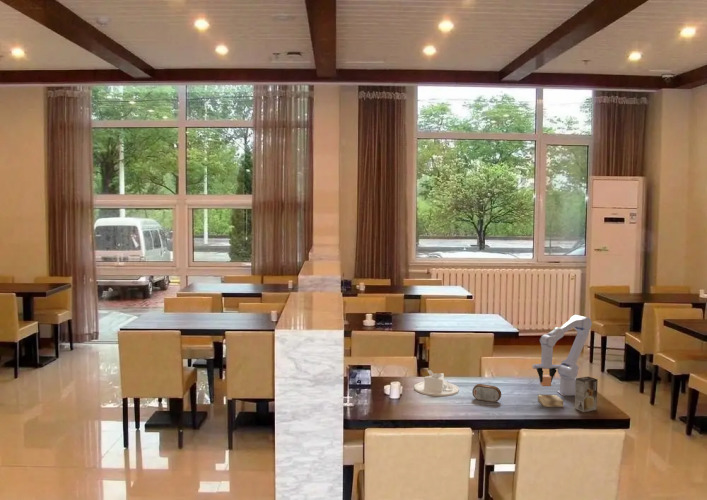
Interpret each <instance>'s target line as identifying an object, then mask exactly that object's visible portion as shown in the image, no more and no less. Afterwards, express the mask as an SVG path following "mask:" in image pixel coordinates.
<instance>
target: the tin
mask: <svg viewBox="0 0 707 500" xmlns="http://www.w3.org/2000/svg"><path fill="white" fill-rule="evenodd" d="M472 397H474V398H475V400H478V401H482V402H489V403H496V402H498V401H499V400H500V399H501V398H502V392H501V389H500V388H498V387H497V386H495V385H489V384H482V383H478V384H475V386H474V387H473V388H472Z"/></svg>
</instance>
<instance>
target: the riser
mask: <svg viewBox="0 0 707 500" xmlns="http://www.w3.org/2000/svg"><path fill="white" fill-rule="evenodd" d="M537 401H538V402H539V403H540V404H541V405H542V406H543V407H545V408H546V407H547V408H549V407H550V408H552V407H553V408H554V407H555V408H557V407H558V408H559V407H562V408H563V407H564V400H563V399H562V398H561V397H560V396H558V395H557V394H538V395H537Z"/></svg>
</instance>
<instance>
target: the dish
mask: <svg viewBox="0 0 707 500" xmlns="http://www.w3.org/2000/svg"><path fill="white" fill-rule="evenodd" d="M427 372H428V374H429V375H427V376H424V381H421V382H417V383H416V384H414V385H413V386H414V387H413V388H414V391H416V392H417V393H419V394H423V395H426V396H433V397H450V396H454V395H456V394H458V393H459V392H460V388H459V386H458V385H456V384H453V383H450V382H447V381H446V380H445V379H444V376H445V375H444V372H443V373H442V372H441V373H438V372H437V373H436V372H433V371H432V370H430V369H427Z"/></svg>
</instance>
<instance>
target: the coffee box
mask: <svg viewBox="0 0 707 500" xmlns="http://www.w3.org/2000/svg"><path fill="white" fill-rule="evenodd" d="M598 380H599V379H598V378H594V377H591V376H583V377H582V376H581V377H578V378H577V377H576V388H575V396H574V409H575V410H577V411H578V412H579V411H580V412H582V413H586V412H591V411H596V410H597V403H598Z"/></svg>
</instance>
